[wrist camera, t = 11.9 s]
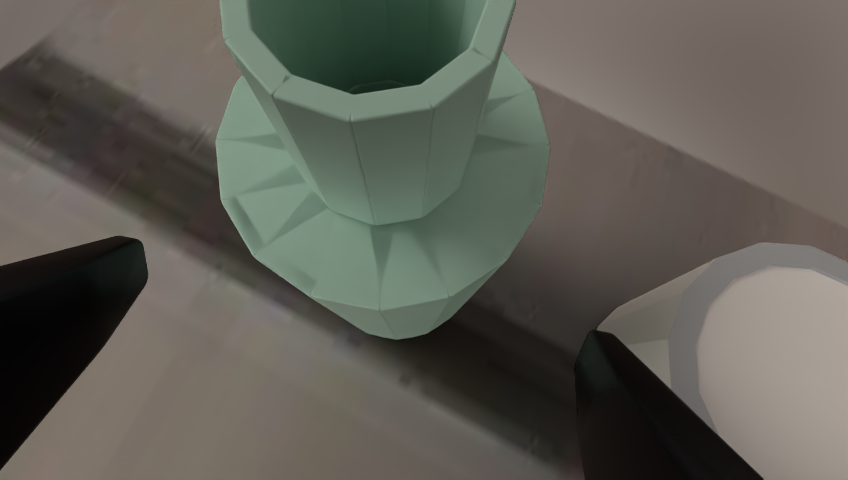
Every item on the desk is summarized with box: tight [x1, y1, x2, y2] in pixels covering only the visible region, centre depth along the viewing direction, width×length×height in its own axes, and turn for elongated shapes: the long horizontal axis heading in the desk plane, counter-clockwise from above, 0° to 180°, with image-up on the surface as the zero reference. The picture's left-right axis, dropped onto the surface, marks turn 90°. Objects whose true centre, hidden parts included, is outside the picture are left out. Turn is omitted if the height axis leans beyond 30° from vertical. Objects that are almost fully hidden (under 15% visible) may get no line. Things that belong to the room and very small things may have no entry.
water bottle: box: [216, 0, 550, 340], centre depth 12 cm, size 6×6×14 cm
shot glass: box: [597, 242, 848, 480], centre depth 15 cm, size 7×7×7 cm
